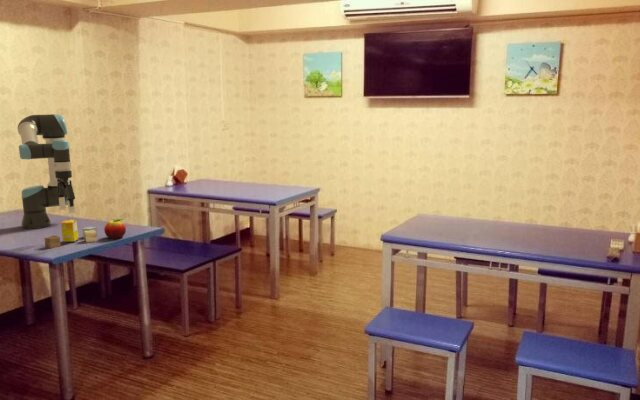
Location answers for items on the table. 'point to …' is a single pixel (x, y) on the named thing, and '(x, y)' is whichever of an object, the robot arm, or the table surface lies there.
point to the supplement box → (69, 231)
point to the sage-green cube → (89, 230)
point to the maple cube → (90, 236)
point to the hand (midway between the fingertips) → (67, 211)
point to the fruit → (115, 229)
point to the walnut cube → (52, 241)
